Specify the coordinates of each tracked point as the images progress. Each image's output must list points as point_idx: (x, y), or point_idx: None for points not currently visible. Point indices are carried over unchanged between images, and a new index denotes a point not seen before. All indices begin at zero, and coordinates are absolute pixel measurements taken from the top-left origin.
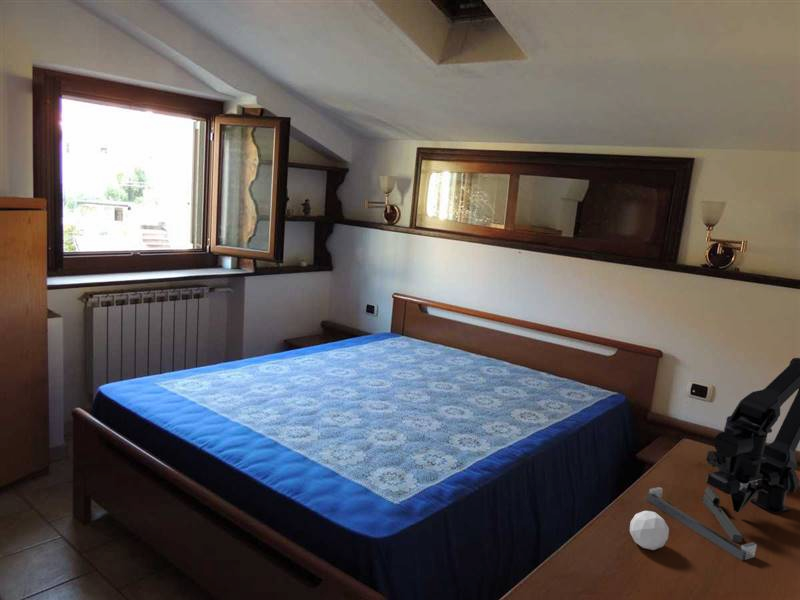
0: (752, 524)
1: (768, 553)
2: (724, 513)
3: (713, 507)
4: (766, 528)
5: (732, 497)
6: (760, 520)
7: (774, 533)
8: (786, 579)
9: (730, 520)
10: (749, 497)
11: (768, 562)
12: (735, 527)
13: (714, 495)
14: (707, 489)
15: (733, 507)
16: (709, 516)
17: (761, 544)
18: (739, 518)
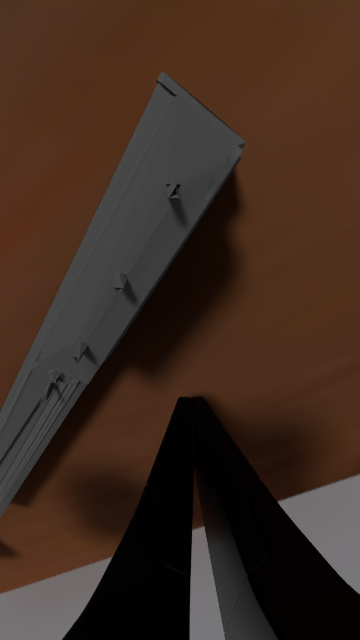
0: None
1: (67, 532)
2: (61, 409)
3: (40, 335)
4: None
5: (146, 493)
6: (291, 419)
7: None
8: (12, 581)
9: (40, 453)
10: (219, 604)
11: (22, 550)
12: (13, 491)
13: (66, 339)
14: (146, 148)
15: (174, 410)
16: (8, 323)
17: (92, 507)
18: (198, 385)
